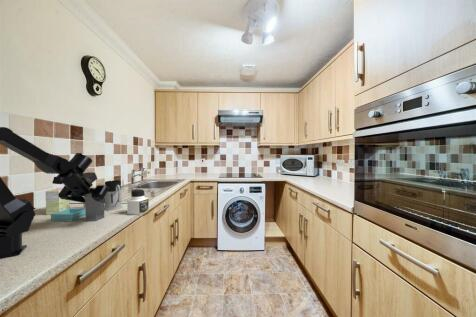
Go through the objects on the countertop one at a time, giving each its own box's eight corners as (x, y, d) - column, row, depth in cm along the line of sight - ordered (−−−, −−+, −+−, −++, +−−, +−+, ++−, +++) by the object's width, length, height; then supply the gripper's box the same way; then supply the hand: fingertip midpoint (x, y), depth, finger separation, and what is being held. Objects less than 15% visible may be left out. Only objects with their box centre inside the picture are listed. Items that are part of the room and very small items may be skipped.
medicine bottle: (139, 215, 98) (139, 190, 98) (127, 214, 100) (126, 190, 100) (148, 211, 105) (148, 188, 105) (137, 210, 107) (136, 188, 107)
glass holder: (119, 205, 117) (118, 179, 117) (128, 209, 108) (128, 182, 107) (101, 208, 110) (101, 181, 110) (110, 213, 101) (109, 183, 101)
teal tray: (71, 221, 89) (71, 214, 89) (50, 220, 90) (50, 214, 90) (88, 214, 99) (88, 208, 99) (69, 214, 99) (69, 208, 99)
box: (57, 209, 108) (56, 187, 108) (70, 208, 110) (69, 187, 110) (45, 215, 98) (44, 191, 98) (59, 214, 100) (59, 190, 100)
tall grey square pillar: (96, 221, 89) (96, 192, 89) (85, 220, 90) (85, 192, 89) (104, 217, 94) (104, 190, 94) (94, 217, 95) (93, 190, 94)
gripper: (105, 166, 86) (122, 187, 97) (63, 166, 86) (85, 187, 98) (91, 188, 78) (111, 208, 89) (46, 187, 79) (71, 207, 90)
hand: (94, 202), depth 92 cm, fingers open, 9 cm apart
